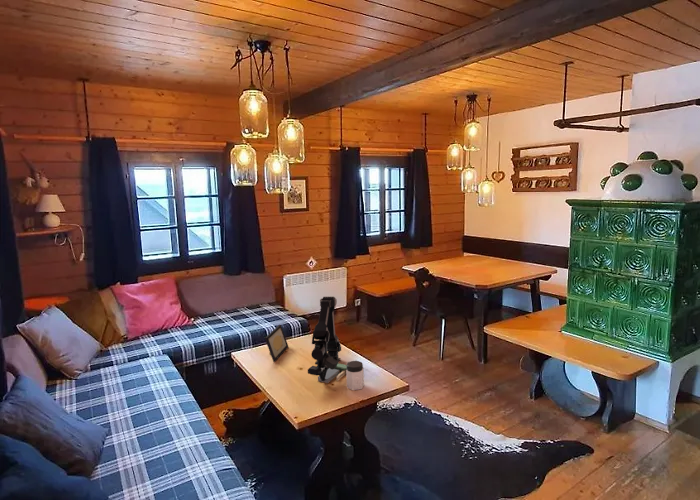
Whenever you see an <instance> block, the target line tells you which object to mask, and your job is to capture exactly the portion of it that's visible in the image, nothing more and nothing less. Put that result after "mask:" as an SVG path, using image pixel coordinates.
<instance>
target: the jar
mask: <svg viewBox="0 0 700 500" xmlns="http://www.w3.org/2000/svg"><path fill="white" fill-rule="evenodd" d="M346 365H347V370H346V374H345V375H346V376H345V378H346V379H345V380H346V388H347V389H349V390H351V391H358V390H362V389H363V388H364V386H365V379H364V378H365V375H364V365H363V362H362V361H359V360H351V361H348V362H346Z"/></svg>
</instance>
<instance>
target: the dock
mask: <svg viewBox="0 0 700 500" xmlns="http://www.w3.org/2000/svg"><path fill="white" fill-rule="evenodd" d="M334 369H337V370H339V374H338V375H337V376H336V377H335V378H336V379H335V380H336V381H337V382H339V381H340V379H342V377H343V376H345V375H346V370H347V364H344V363H340V362H339V363H338V364H337V367H335V368H334Z"/></svg>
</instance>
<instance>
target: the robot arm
mask: <svg viewBox="0 0 700 500" xmlns="http://www.w3.org/2000/svg"><path fill="white" fill-rule="evenodd" d="M336 306H337V298H336V297H335V296H323V297H322V298H320V299H319V307H320V310H319V314H318V322H317V323H316V325H315V326H314V329H313V331H312V337H311V338H312V339H311V345H314V348H313V349H312V351H311V353H310V354H311V357H312V359H314V360H316V361H315V362H314V365H312V366H310V367H309V368H308V369H307V374H308V375H312V376H317V377H318V376H319V377H320V378H321V380H322V381H324V380H325V377H326V373H327V370H328V369H329V368H330V369H332V370H333V369H334V368H335V367H337V364H338V363H339V364H340V360H342V359H341V357H339V353H340V352H341V351H342V345H341V343H340V341H339V337H338V335H337V334H336V327H335V316H334V313H335V312H334V311H335V309H336Z"/></svg>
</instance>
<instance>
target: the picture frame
mask: <svg viewBox="0 0 700 500" xmlns="http://www.w3.org/2000/svg"><path fill="white" fill-rule="evenodd" d="M264 341H265V343H266V345H267V348H268V352H269V355H270V356H271V360H272V362H273V363H275V362H276V361H277V360H278V359H279V358H280V357H281V356H282V354H283V353H284V352H285V351H286V350H287V349H288V348H289V344H288V342H287V339H286V336H285V333H284V331H283V328H282V325H281V324H279V325H278V326H276V327H275V328H274V329H272V331H270V333H268V334H267V335H266V336H265V337H264Z"/></svg>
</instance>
